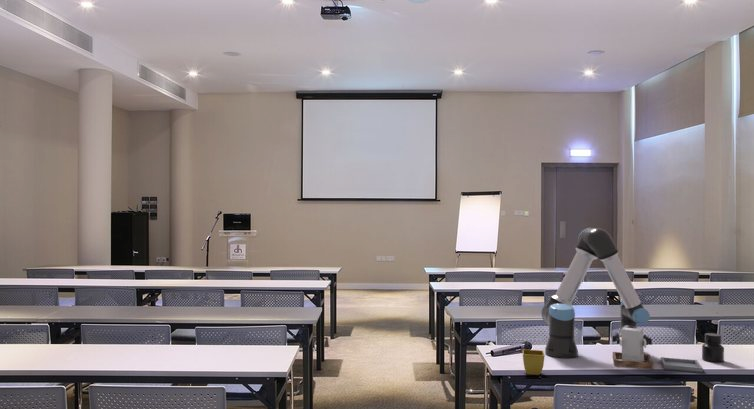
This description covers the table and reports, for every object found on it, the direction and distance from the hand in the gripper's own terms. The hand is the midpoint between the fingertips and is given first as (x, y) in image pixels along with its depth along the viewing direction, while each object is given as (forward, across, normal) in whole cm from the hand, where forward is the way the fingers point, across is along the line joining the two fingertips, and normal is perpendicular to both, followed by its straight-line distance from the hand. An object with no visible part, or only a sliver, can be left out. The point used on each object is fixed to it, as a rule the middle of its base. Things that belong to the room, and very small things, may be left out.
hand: (633, 343), depth 274 cm
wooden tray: (-4, 0, -10) cm, 11 cm away
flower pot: (+31, +41, -10) cm, 52 cm away
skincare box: (-4, 0, -9) cm, 10 cm away
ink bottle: (-23, -36, -10) cm, 44 cm away
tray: (-4, -20, -10) cm, 23 cm away
